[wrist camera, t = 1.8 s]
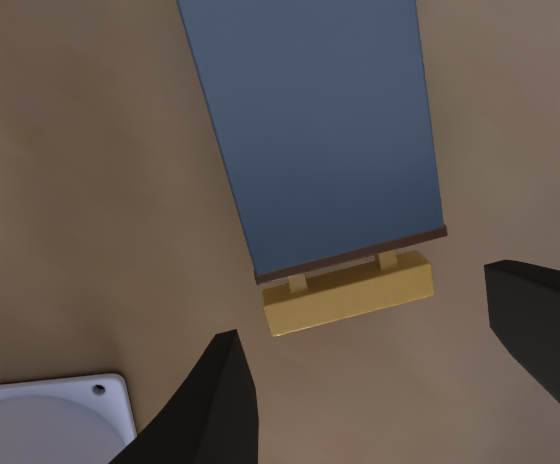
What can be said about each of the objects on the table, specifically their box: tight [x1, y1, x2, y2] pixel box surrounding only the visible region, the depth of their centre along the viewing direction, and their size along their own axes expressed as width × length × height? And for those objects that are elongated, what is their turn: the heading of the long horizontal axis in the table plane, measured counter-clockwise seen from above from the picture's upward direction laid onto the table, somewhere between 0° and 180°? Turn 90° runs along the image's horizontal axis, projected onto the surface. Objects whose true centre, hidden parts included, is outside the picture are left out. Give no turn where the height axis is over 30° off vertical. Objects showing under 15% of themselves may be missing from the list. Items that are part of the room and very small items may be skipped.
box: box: [176, 0, 447, 337], centre depth 13 cm, size 12×6×6 cm, turn 14°
